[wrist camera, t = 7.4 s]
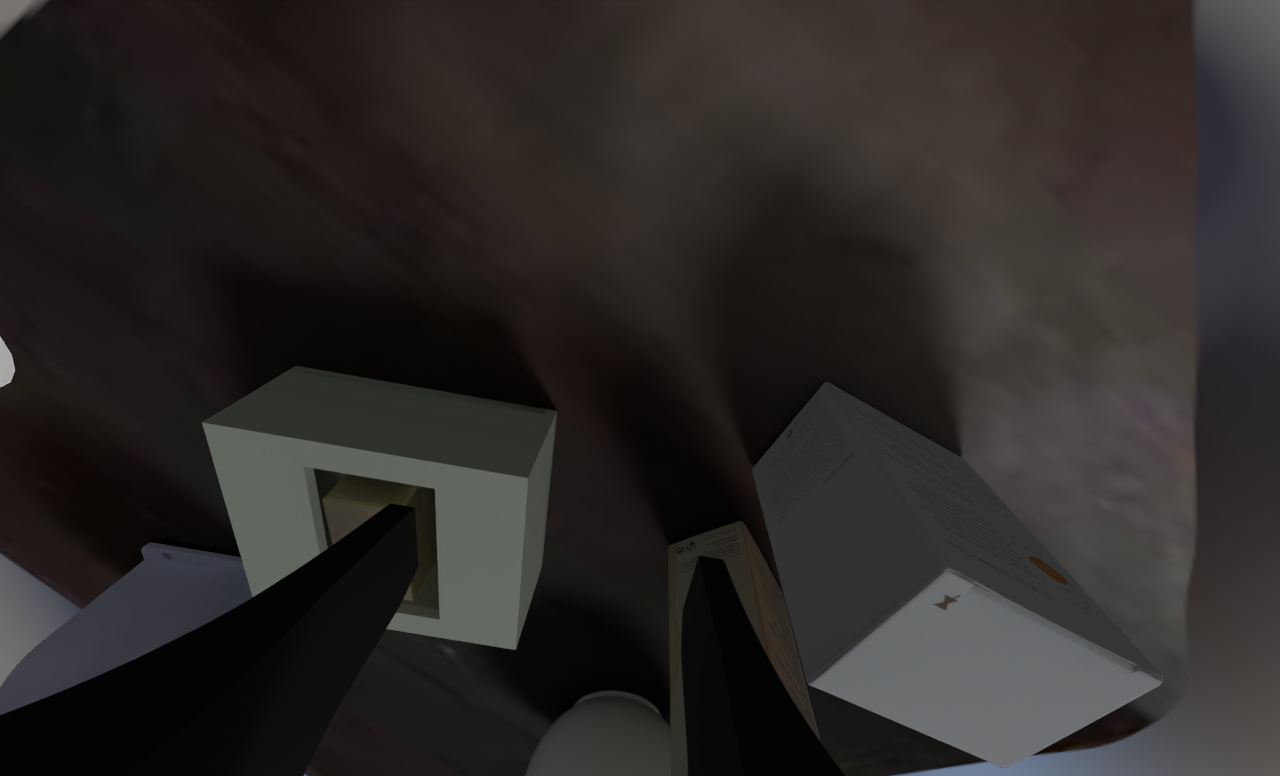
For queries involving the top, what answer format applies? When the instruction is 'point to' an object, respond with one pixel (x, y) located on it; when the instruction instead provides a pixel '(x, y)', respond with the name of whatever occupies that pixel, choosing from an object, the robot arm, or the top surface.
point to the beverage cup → (5, 364)
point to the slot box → (399, 452)
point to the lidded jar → (605, 739)
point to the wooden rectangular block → (369, 496)
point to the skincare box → (759, 605)
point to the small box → (932, 590)
